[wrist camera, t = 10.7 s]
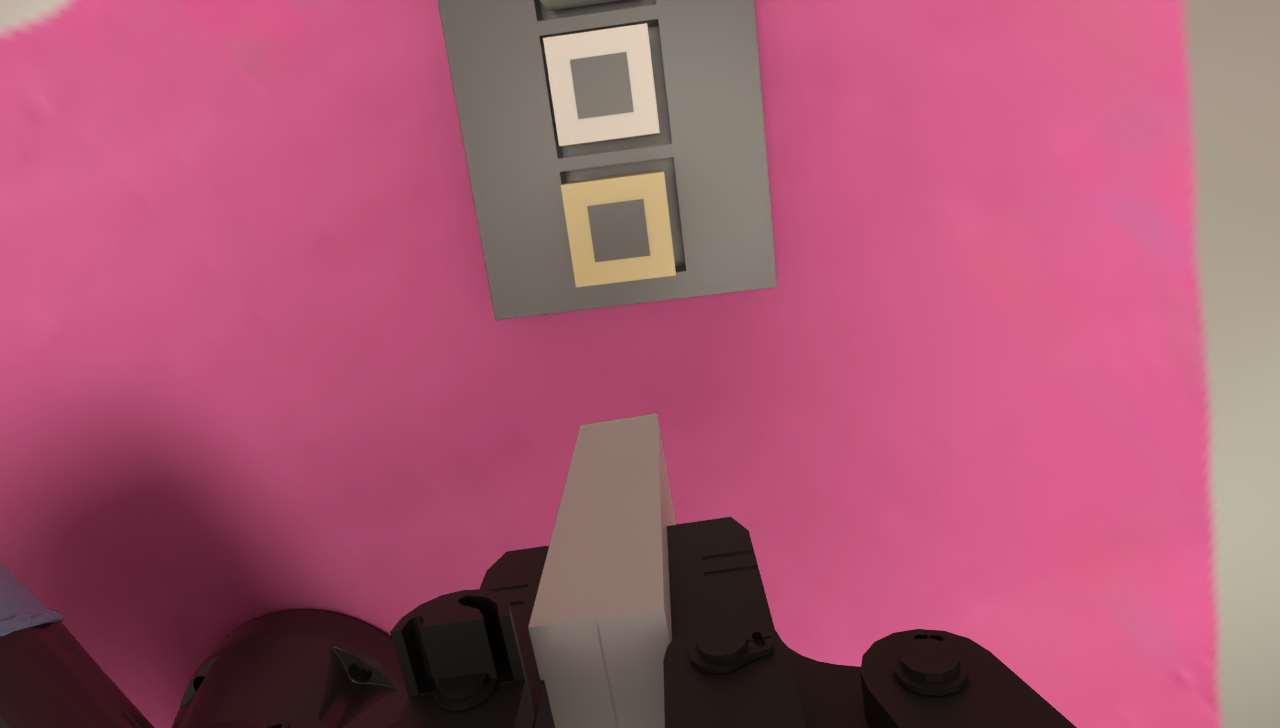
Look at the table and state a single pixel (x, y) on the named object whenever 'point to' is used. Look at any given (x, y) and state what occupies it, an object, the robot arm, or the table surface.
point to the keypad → (613, 148)
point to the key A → (570, 3)
